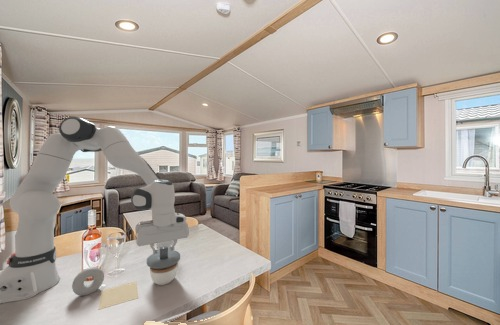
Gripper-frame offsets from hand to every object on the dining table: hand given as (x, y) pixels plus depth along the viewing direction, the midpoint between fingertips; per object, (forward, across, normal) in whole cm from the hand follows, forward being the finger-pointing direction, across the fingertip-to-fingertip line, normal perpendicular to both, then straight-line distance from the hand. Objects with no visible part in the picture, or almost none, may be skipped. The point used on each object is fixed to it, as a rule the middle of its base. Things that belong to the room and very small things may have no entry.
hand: (163, 251), depth 90 cm
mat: (+13, -16, -1) cm, 21 cm away
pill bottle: (+13, +4, +23) cm, 27 cm away
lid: (+3, 0, 0) cm, 3 cm away
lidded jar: (+13, 0, 0) cm, 13 cm away
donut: (+13, -26, +6) cm, 30 cm away
